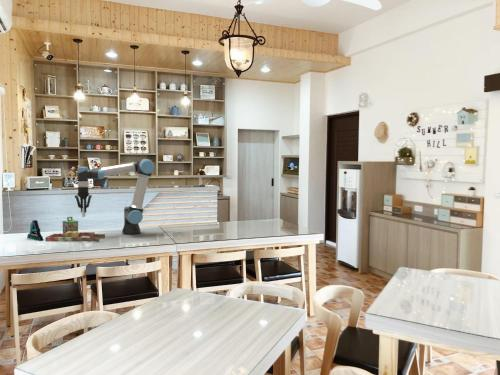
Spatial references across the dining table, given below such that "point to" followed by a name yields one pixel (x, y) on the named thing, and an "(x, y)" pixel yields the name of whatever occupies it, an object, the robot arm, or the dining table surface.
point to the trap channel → (63, 237)
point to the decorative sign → (35, 231)
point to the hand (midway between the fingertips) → (83, 216)
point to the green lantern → (70, 225)
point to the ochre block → (72, 234)
